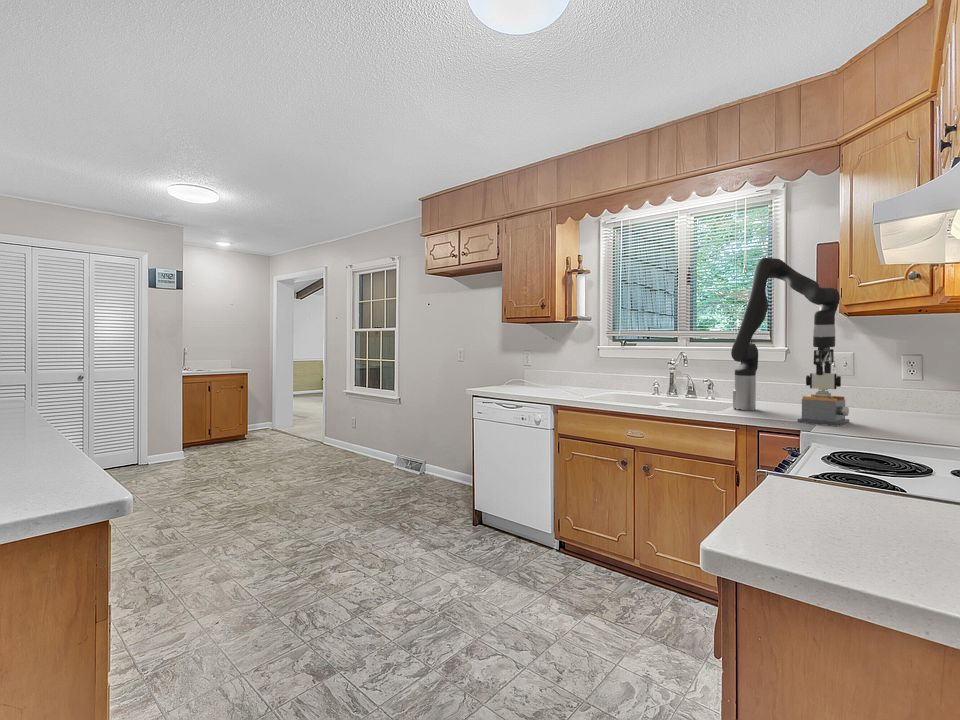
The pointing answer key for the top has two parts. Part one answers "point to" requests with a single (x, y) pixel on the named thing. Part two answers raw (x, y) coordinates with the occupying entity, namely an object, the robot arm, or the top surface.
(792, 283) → the robot arm
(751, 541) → the top surface
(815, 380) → the pneumatic valve
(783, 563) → the top surface
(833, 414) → the orange-striped grey block
